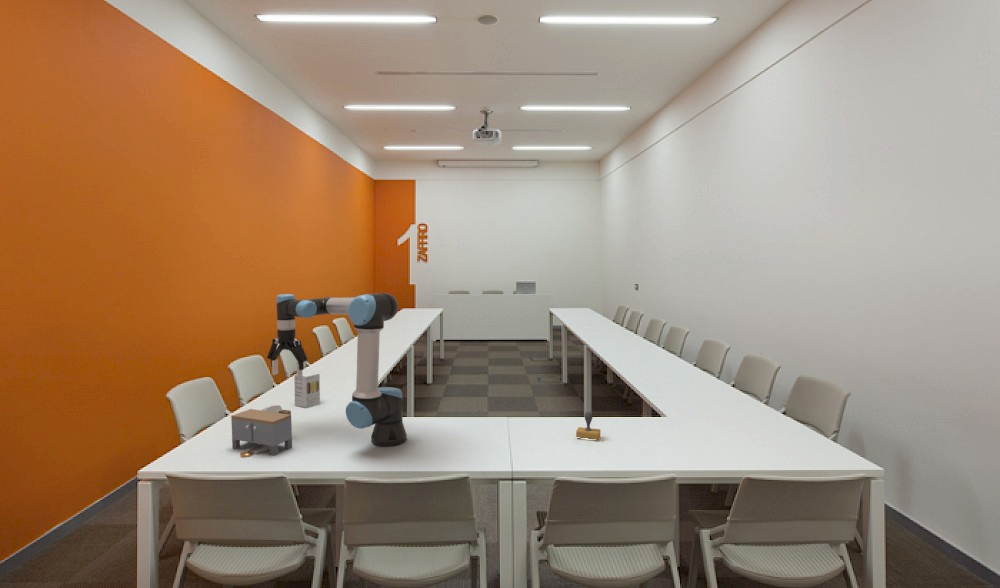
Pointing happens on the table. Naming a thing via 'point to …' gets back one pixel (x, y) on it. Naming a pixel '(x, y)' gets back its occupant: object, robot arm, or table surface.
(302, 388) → the supplement box
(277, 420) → the low cabinet
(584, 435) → the rubber stamp
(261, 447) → the wooden block bookend
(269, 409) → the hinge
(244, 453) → the copper disc
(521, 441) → the table surface
